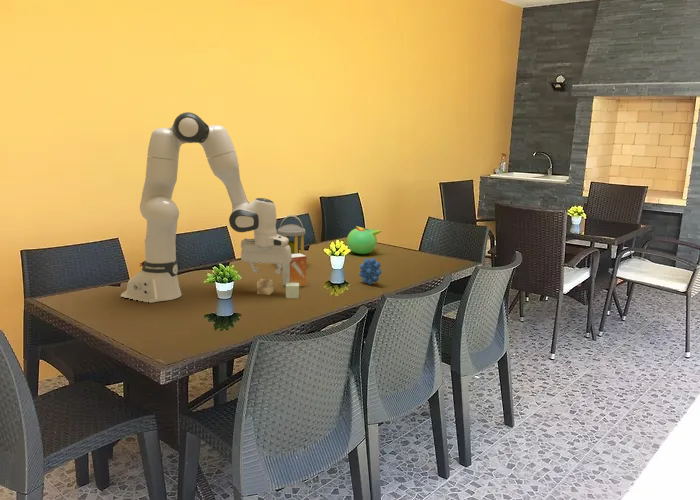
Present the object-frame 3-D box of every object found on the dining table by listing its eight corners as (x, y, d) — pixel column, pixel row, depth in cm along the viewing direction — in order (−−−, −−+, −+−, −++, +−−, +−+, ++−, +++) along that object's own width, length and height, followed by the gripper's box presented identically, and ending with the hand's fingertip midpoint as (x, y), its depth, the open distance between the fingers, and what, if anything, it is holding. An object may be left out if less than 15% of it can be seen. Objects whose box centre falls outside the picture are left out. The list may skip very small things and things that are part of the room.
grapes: (386, 285, 248) (387, 258, 245) (377, 288, 242) (378, 260, 240) (365, 280, 255) (366, 253, 252) (355, 283, 250) (356, 256, 247)
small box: (289, 288, 239) (289, 257, 237) (282, 284, 244) (282, 254, 242) (306, 285, 244) (306, 255, 241) (299, 282, 249) (299, 252, 246)
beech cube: (257, 294, 230) (256, 281, 229) (261, 290, 235) (261, 278, 234) (269, 295, 229) (269, 282, 228) (273, 291, 234) (273, 279, 233)
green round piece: (343, 250, 317) (343, 224, 314) (372, 249, 321) (373, 223, 318) (351, 257, 299) (351, 229, 296) (382, 256, 304) (383, 229, 301)
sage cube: (285, 298, 225) (285, 286, 224) (286, 294, 230) (286, 282, 229) (298, 298, 226) (298, 286, 225) (298, 294, 230) (299, 282, 229)
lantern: (306, 263, 283) (307, 213, 278) (305, 270, 269) (306, 217, 264) (277, 263, 283) (277, 212, 277) (274, 270, 269) (274, 217, 264)
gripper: (237, 239, 227) (239, 274, 230) (287, 242, 223) (288, 276, 226) (243, 236, 233) (244, 270, 236) (292, 238, 229) (293, 272, 232)
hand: (266, 273), depth 231 cm, fingers open, 8 cm apart
